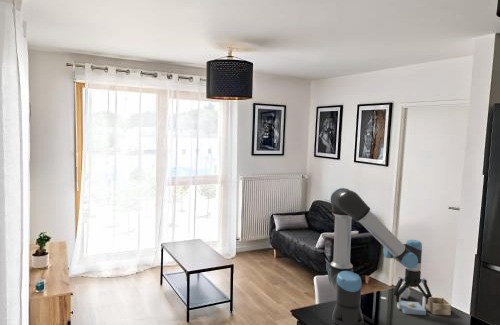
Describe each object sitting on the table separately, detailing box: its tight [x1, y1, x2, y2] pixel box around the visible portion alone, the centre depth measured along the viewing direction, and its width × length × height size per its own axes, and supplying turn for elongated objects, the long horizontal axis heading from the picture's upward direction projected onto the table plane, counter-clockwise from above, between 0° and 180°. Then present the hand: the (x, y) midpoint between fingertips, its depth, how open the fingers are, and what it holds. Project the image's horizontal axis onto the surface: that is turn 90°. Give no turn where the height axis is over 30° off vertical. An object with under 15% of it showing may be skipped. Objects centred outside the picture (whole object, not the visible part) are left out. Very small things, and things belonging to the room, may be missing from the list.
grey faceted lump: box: [399, 283, 412, 300], centre depth 211 cm, size 8×9×10 cm
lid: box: [399, 300, 427, 316], centre depth 194 cm, size 11×11×4 cm
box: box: [426, 296, 452, 316], centre depth 194 cm, size 9×9×6 cm
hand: (411, 308), depth 194 cm, fingers open, 12 cm apart
